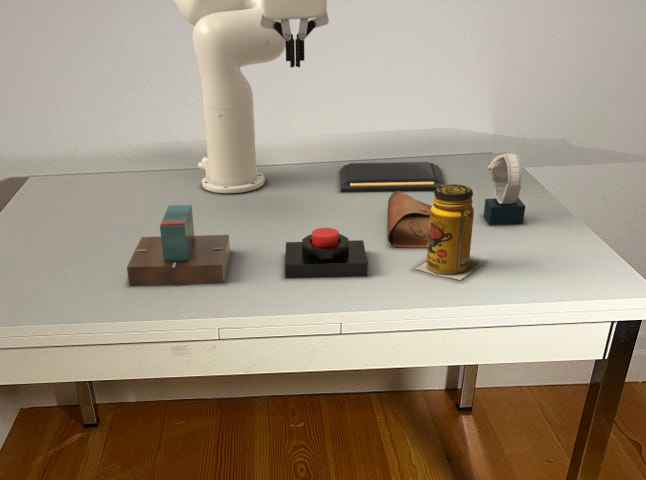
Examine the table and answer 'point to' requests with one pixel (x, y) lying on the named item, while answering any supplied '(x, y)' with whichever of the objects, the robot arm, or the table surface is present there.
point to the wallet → (390, 177)
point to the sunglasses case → (408, 221)
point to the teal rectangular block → (177, 233)
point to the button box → (325, 259)
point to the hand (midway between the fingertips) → (295, 65)
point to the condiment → (451, 233)
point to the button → (325, 237)
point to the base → (180, 263)
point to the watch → (505, 191)
